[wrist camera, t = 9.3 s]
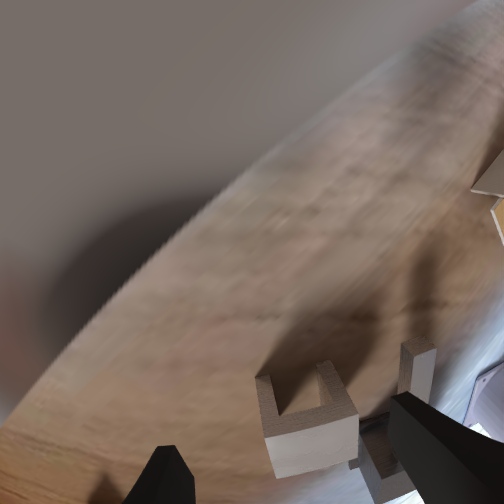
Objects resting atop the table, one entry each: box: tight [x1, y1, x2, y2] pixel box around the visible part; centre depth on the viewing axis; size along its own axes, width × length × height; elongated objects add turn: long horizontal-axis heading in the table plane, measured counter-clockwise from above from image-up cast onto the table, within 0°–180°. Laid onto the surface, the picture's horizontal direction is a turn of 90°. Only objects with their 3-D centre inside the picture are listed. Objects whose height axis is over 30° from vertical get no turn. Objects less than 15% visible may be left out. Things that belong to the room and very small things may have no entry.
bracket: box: [255, 360, 359, 479], centre depth 18 cm, size 5×4×6 cm
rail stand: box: [349, 335, 437, 504], centre depth 19 cm, size 6×16×6 cm, turn 11°
